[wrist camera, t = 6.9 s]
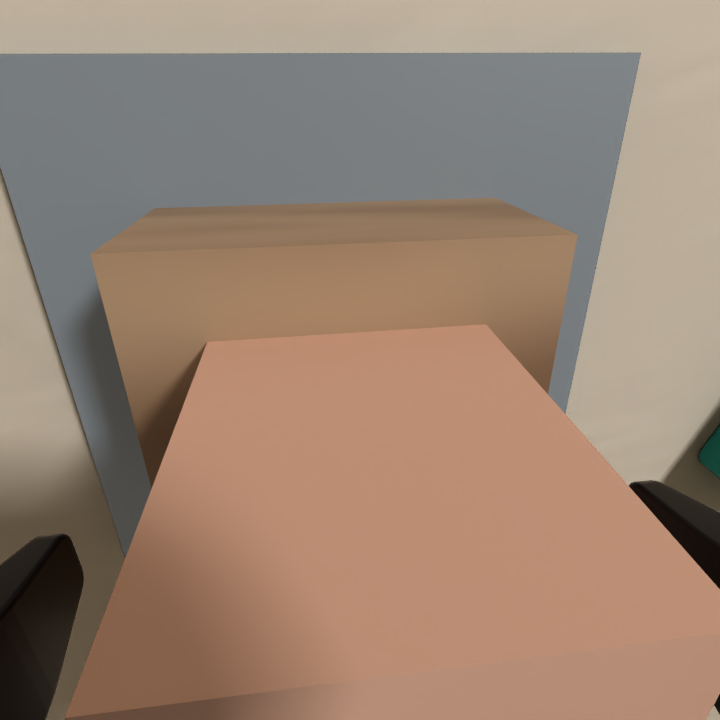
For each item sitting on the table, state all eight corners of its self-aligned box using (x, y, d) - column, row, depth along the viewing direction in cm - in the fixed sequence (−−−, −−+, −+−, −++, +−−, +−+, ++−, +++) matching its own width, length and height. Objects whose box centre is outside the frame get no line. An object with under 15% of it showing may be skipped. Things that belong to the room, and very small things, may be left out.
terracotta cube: (464, 525, 11) (613, 892, 6) (242, 548, 11) (192, 968, 6) (485, 324, 9) (754, 628, 4) (207, 342, 9) (65, 717, 3)
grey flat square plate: (535, 509, 18) (542, 522, 17) (131, 548, 16) (126, 563, 16) (624, 55, 12) (640, 52, 11) (-19, 56, 10) (-36, 54, 10)
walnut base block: (466, 460, 16) (516, 563, 12) (207, 482, 15) (180, 598, 11) (494, 197, 12) (577, 234, 9) (154, 208, 11) (90, 254, 8)
